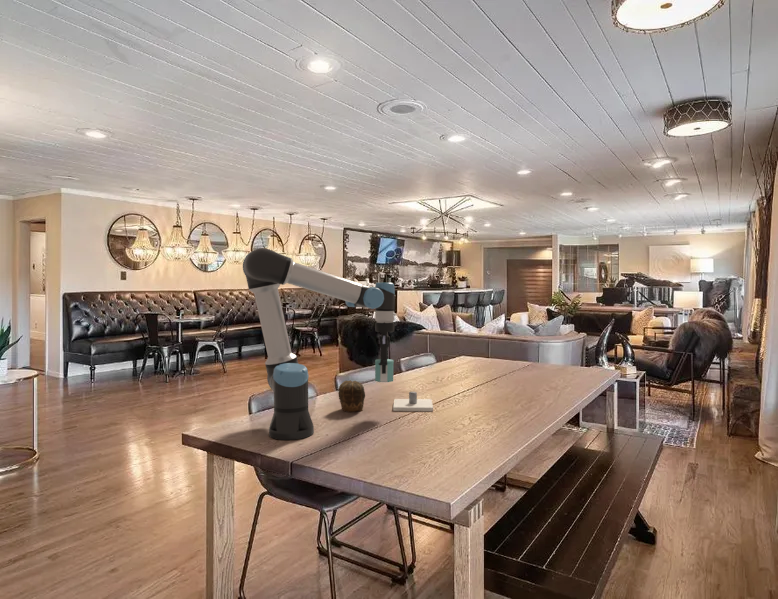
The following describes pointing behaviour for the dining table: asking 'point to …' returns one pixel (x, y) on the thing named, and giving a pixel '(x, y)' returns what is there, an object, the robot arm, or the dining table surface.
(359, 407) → the brown domed block
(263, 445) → the dining table surface
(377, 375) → the teal cylinder
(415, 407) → the post board
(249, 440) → the dining table surface
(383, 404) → the dining table surface
